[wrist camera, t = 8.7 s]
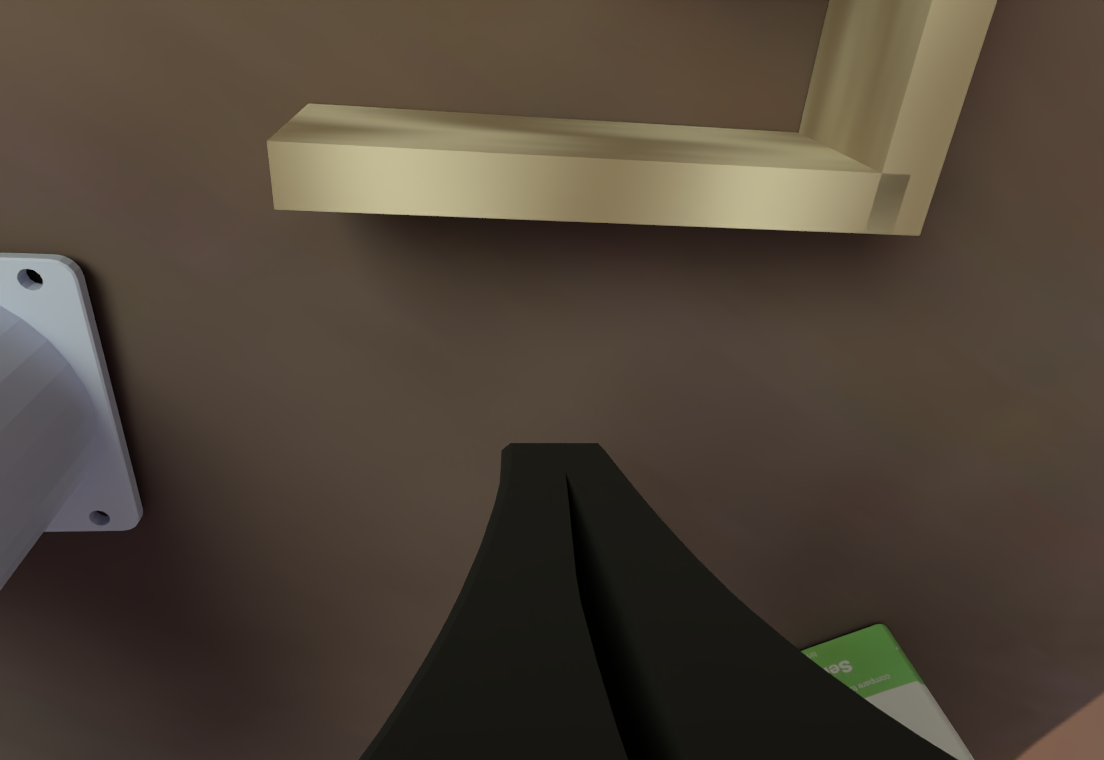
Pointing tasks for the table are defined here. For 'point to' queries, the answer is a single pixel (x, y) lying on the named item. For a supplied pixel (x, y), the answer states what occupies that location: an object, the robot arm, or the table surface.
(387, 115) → the beige piece
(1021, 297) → the table surface
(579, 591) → the robot arm
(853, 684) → the ink box
